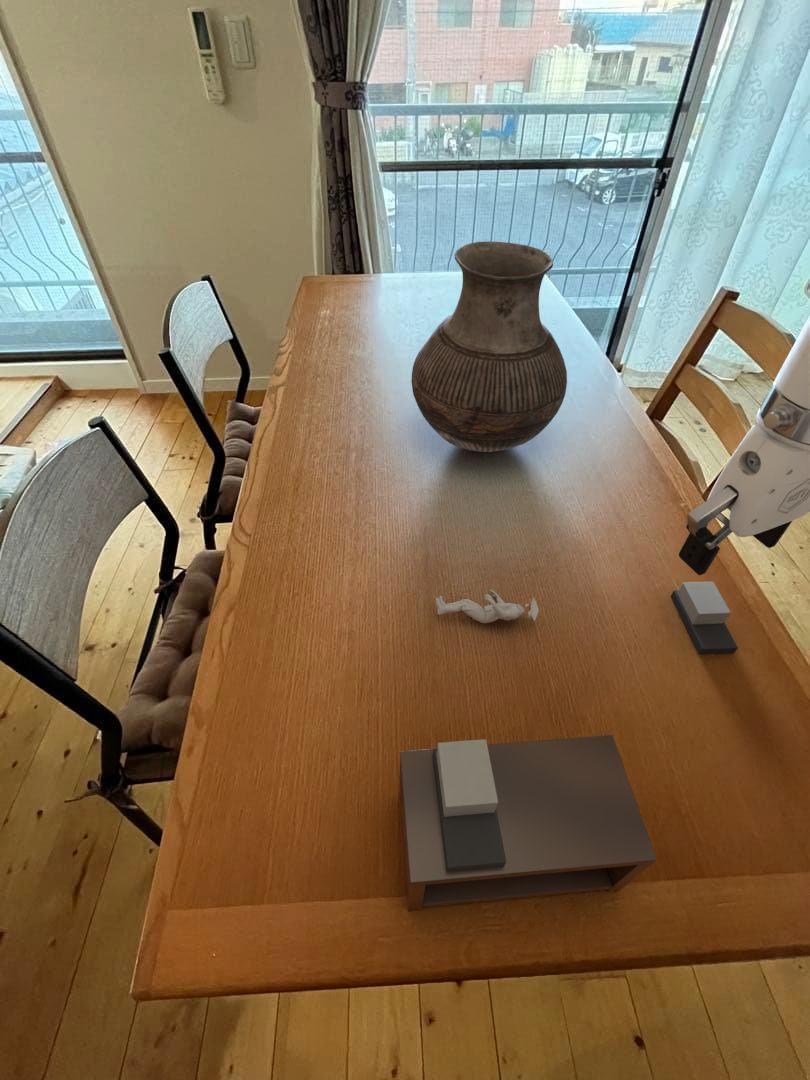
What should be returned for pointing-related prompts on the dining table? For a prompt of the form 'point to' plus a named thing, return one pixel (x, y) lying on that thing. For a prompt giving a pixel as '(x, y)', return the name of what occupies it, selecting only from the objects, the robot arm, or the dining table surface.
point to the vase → (492, 354)
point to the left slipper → (468, 806)
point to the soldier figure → (488, 609)
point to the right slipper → (704, 617)
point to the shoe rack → (531, 824)
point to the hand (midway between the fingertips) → (726, 551)
